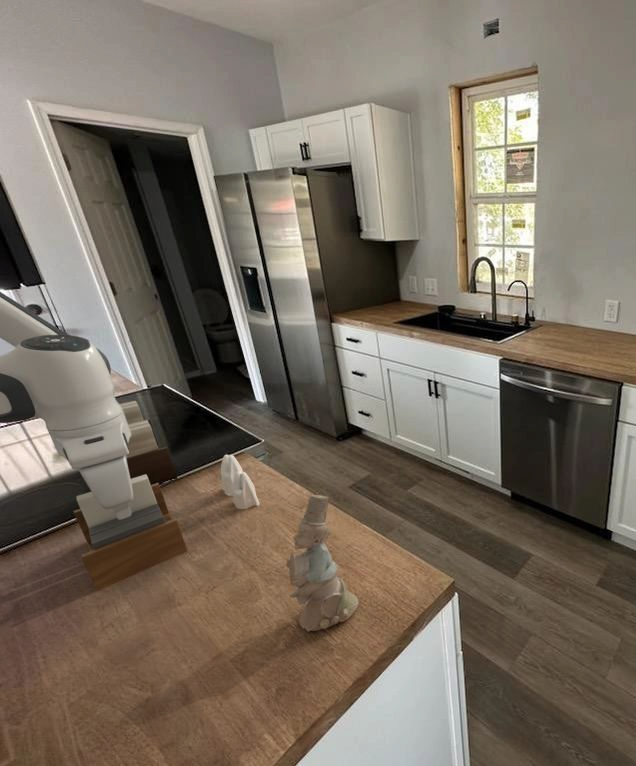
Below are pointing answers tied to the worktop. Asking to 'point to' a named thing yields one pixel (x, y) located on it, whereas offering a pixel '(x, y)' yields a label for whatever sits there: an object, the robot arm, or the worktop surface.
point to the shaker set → (237, 484)
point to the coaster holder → (131, 542)
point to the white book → (99, 515)
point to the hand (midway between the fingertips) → (120, 503)
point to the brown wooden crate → (146, 448)
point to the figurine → (318, 572)
